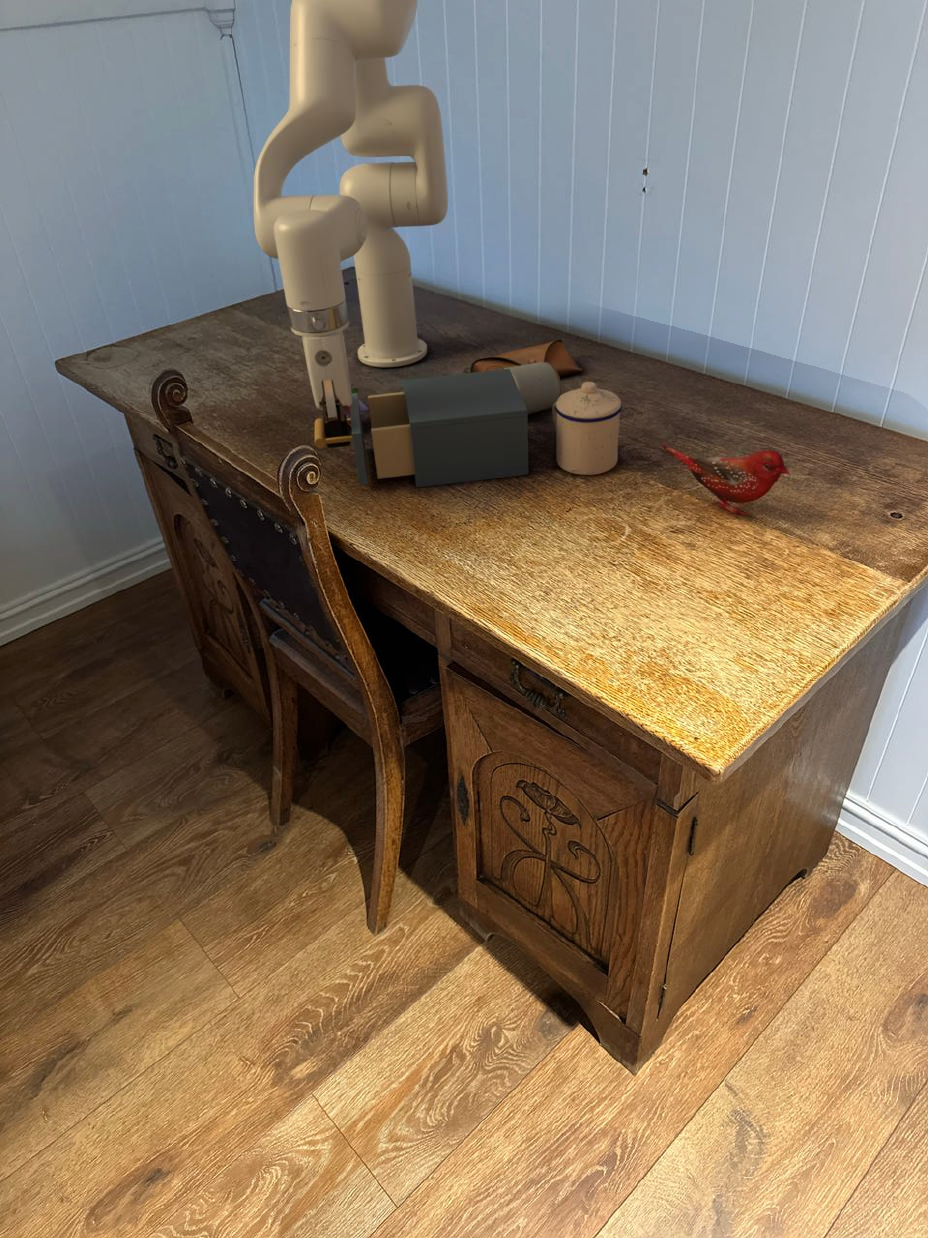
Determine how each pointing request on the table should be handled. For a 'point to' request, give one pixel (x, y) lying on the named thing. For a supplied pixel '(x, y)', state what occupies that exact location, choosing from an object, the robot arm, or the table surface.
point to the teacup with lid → (587, 430)
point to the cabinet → (467, 427)
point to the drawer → (378, 436)
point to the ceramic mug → (537, 385)
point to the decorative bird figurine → (735, 475)
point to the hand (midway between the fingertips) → (338, 444)
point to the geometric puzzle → (347, 409)
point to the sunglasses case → (531, 359)
